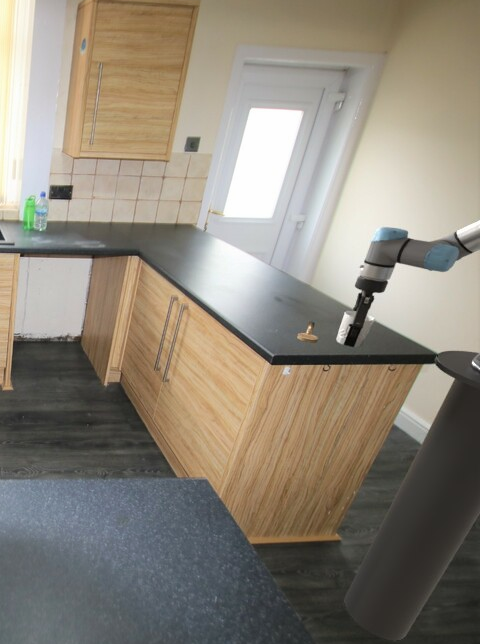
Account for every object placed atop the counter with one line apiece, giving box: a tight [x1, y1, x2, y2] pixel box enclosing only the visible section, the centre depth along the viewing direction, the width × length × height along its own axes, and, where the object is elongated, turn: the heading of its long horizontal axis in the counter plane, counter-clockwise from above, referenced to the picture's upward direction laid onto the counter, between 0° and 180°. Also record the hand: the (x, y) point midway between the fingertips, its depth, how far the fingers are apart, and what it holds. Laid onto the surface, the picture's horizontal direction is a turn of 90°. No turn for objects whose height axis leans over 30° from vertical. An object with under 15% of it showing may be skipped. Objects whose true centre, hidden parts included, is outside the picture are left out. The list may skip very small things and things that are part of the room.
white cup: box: [335, 310, 376, 348], centre depth 154 cm, size 8×8×10 cm
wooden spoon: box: [296, 321, 319, 344], centre depth 163 cm, size 19×6×2 cm, turn 142°
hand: (349, 339), depth 156 cm, fingers open, 13 cm apart
